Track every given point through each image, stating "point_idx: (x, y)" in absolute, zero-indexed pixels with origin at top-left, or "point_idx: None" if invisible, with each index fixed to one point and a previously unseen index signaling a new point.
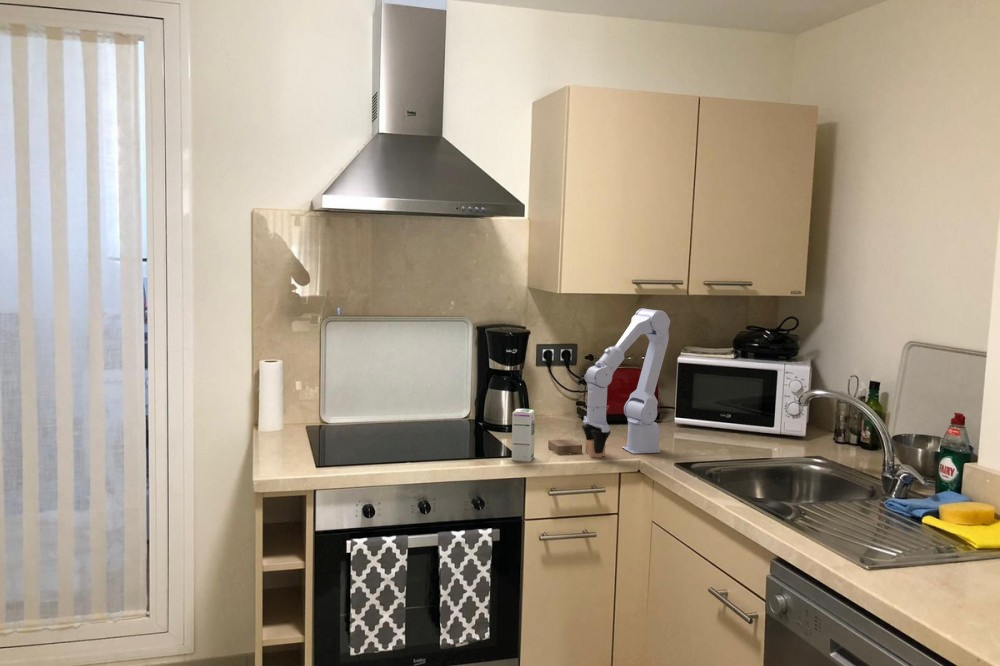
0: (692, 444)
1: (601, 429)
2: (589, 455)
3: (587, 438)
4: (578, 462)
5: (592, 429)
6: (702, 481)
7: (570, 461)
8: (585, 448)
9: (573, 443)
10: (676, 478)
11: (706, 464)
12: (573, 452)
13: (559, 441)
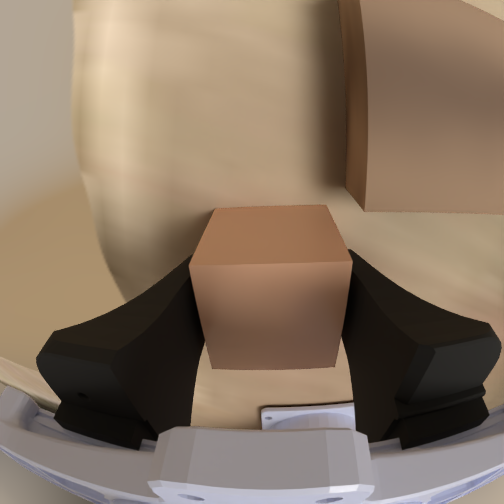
0: None
1: (60, 426)
2: (241, 210)
3: (363, 287)
4: (97, 88)
5: (375, 399)
6: (12, 385)
7: (125, 38)
8: (332, 222)
9: (434, 158)
10: (6, 360)
11: None
12: (348, 119)
13: (502, 82)
